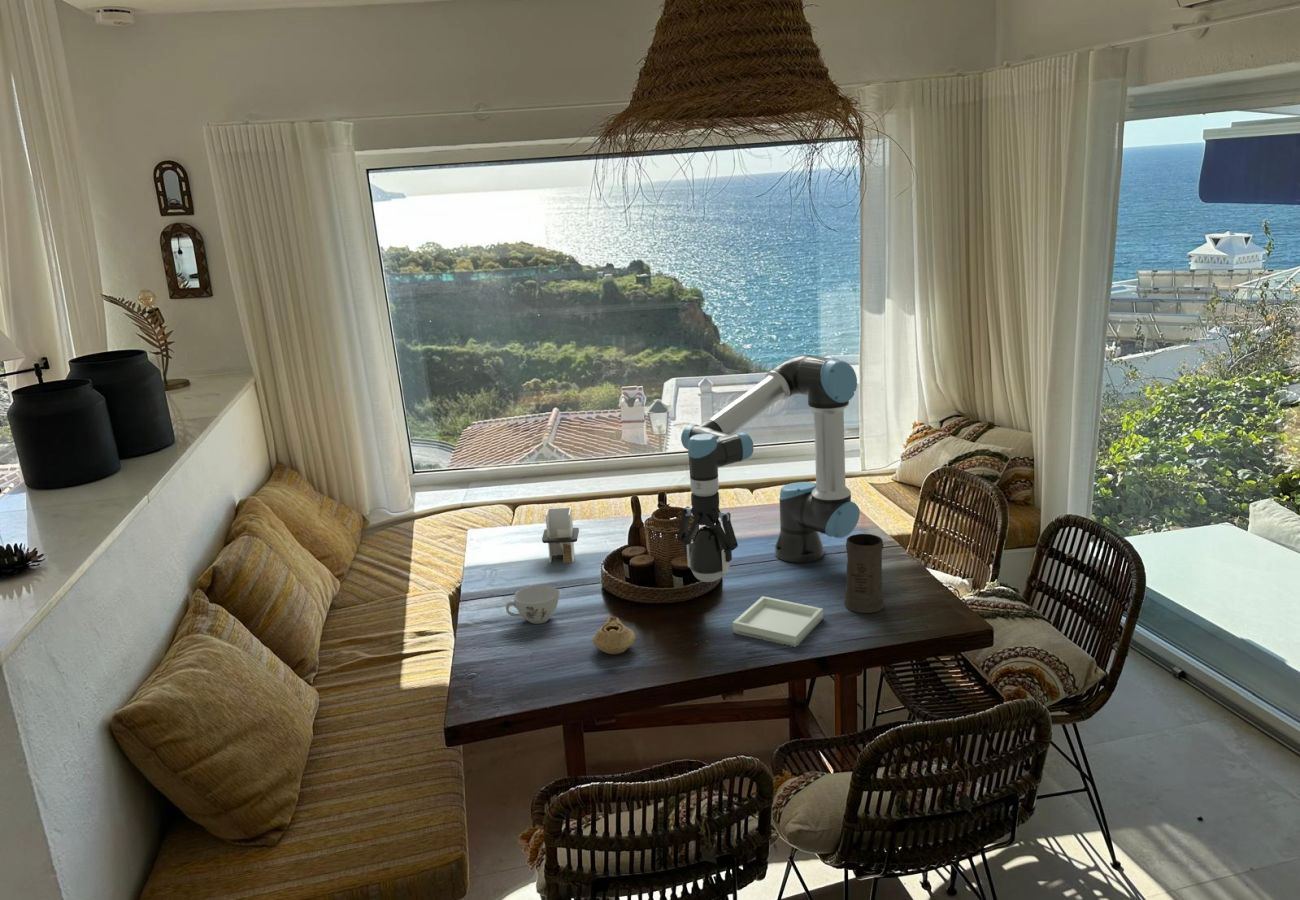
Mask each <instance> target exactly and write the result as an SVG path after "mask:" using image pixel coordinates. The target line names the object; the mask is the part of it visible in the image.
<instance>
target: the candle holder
mask: <svg viewBox="0 0 1300 900" xmlns="http://www.w3.org/2000/svg"><path fill="white" fill-rule="evenodd" d="M544 517H545V525H546V529H543V533H542V537H541V541H542V543H543V544H547V545H548V546H547V547H548V557H549V563H550V564H551V563H552V560H553V556H562V563H573V562H574V559H575V553H576V552H575V543H576V542H577V541H578V538H579V532H580V529H579V527H574V524H573V523H574V522H573V510H572V507H571V506H570V507H567V506H566V507H550V508H547V509H546V512H545V516H544Z"/></svg>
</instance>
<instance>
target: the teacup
mask: <svg viewBox="0 0 1300 900" xmlns="http://www.w3.org/2000/svg"><path fill="white" fill-rule="evenodd" d="M559 597H560V590H559V589H557V588H556V587H554V586H550V585H545V584H544V585H543V584H534V585H529V586H526V587H523V588H520V589H519V590H517V591H516V592H515V593H514V595H513V600H514V601H508V602H507V603H506V605H505V610H506V613H507V614H508V615H509V616H511V617H522V618H523V619H525V620H526V621H528V622H529V623H531V624H536V625H538V624H540V625H541V624H544V623H547V621H549V620H550V618H551V617H552V616H553V615H554V613H555V611H556V609H557V607H558V603H559ZM512 606H513V607H514V609H516V610H517V611H518V613H515V612H511V611H510V609H509V608H510V607H512Z"/></svg>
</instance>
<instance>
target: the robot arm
mask: <svg viewBox="0 0 1300 900" xmlns="http://www.w3.org/2000/svg"><path fill="white" fill-rule="evenodd" d="M857 377H858V376H857V373H856V371H855V369H854V368H853V367H852V366H851V364H850V363H848V362H847V361H843V360H841V359H837V358H831V357H823V356H816V355H811V354H803V355H798V356H795V357H792V358H790V359H787V360H785V361H784V362H781V363H779V364H778V365H776V366H775V367H773V368H772V369H771V370H769V371H767V373H766V374H765V376H764V379H763V380H761V381H759V382H758V383H757V384H756V385H754V386H753V387H751V388H750V389H749V390H747V391H746V392H744V393H743V394H741V395H740V396H739V397H737V398H736V399H735V400H733V401H732V402H731V403H728V404H727V405H726V406H724V408H722V409H720V410H719V411H718V412H716V413H715V414H714V415H712V416H711V417H709V418H708V419H707V420H706V421H704V422H702V423H701V424H700V425H699V424H689V425H687V426H686V427H684V429H683V431H682V432H681V436H680V442H681V444H682V446H683V448H684V449H686V450H687V454H688V467H689V482H690V492H691V493H690V502H691V504H690V505H691V507H690V506H687V505H686V506H685V507H684V508H682V509H681V521H680V525H679V530H678V533H677V541H678V542H682V543H683V547H684V548H683V549H684V550H683V551H684V554H685V555H686V557H687V559H686V560H687V568H690V555H691V549H692V545H693V539H694V537H695V535H696V533H697V531H698V530H699V529H698V528H699V527H700V526H709V527H711V529H712V530H713V531H714V532H715V534H716V536H717V538H718V540H719V542H720V543H721V545H722V547H723V549H724V550H723V551H722V573H723V574H724V575H726V574H727V573H728V572H730V562H731V561H732V559H733V558H732V557H733V553H732V551H734V550H736V549H737V548H738V547H739V544H738V541H737V538H736V535H735V531H734V528H733V525H732V522H731V513H730V512H726V513H724V512H721V510H720V493H719V490H720V487H719V468H721V467H724V466H727V465H732V464H734V463H735V464H736V463H739V462H740V463H741V462H743V461H744V460H747V459H749V458H751V456H753V453H754V449H755V448H754V441H753V440H752V438H751V436H750V435H749V434H748V433H747V432H743V431H742V432H739V430H740V429H742V428H743V427H744V426H746V425H747V424H749V423H750V422H751V421H753V420H755V418H757V417H758V416H760V415H761V414H762V413H764V412H765V411H766V410H768V409H769V408H770V407H772V406H773V405H774V404H776V403H777V402H778V401H784V400H785V401H786V400H788V398H790V397H791V396H794V395H804V396H807V405H808V408H810V409H811V410H812V411H813V429H814V456H815V482H811V481H798V482H791V483H788V484H784V486H782V487H781V489H780V491H779V523H780V524H779V525H780V527H779V529H780V531H779V534H778V537H777V540H776V542H775V547H774V555H775V556H776V558H778V559H780V560H782V561H784V562H788V563H798V564H799V563H800V564H801V563H811V562H815V561H817V560H820V559H821V558H823V557H824V545H823V542H822V540H821V536H820V534H824V535H826V536H827V537H834V538H837V539H842V538H845V537H849V535H851V533H852V532H853V531H854V529H855V528H856V527H857V525H858V523H859V519H860V515H861V514H860V513H861V512H860V508H859V506H858V505H857V503H855V502H854V501H852V492H851V490H850V489H849V488H848V487H847V486H846V457H845V456H846V454H845V450H846V449H845V448H846V447H845V419H844V418H845V417H844V414H845V411H844V410H845V409H846V408H847V407H848V406H849V405H850V400H851V399H853V398H854V396H855V392H856V391H857V388H858V378H857ZM691 515H692V516H693V518H694V519H693V521H692V523H691V526H690V528H689V523H690V519H691ZM719 518H720V520H719ZM688 528H689V529H688Z"/></svg>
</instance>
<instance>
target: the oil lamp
mask: <svg viewBox="0 0 1300 900" xmlns="http://www.w3.org/2000/svg"><path fill="white" fill-rule="evenodd" d="M636 639H637V638H636V634H635V633H634V631H633V630H632V629H631V628H629V627H628V626H626V625H625V624H623V622H622V621H621V620H620V619H619V618H618V617H616V616H615V617H614V616H609V617H607V619H606V622H605V623H604V624H603V625H602V626H601V627H600V628H599V630H598V631H597V632H596V633H595V634H594V636H593V640H592V642H593V645H594V646H595V647H596V648H597V649H598V650H600V651H602V652H604V653H606V654H608V655H618V654H622V653H624V652H625V651H626V650H627V649H629V648H630V647H631V646H633V645H634V643H635V641H636Z"/></svg>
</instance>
